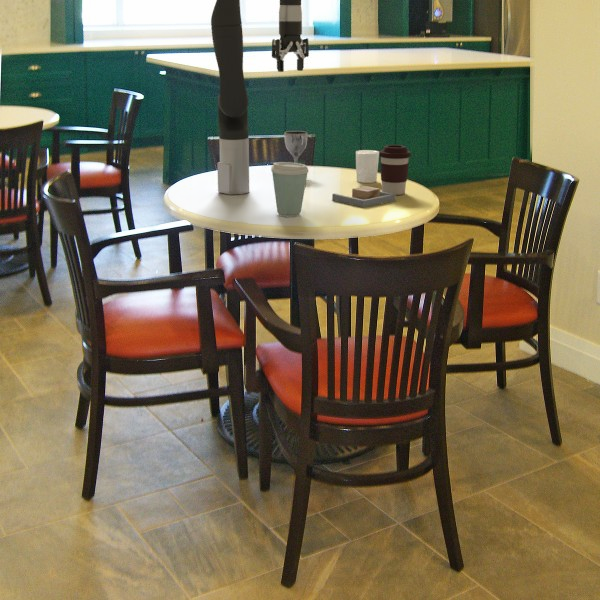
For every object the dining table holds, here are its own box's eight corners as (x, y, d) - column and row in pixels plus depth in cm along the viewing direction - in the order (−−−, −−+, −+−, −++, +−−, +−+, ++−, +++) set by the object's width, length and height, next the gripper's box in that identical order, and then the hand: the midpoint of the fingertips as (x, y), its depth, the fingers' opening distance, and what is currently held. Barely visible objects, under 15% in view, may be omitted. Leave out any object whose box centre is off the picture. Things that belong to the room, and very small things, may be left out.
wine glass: (307, 177, 309) (307, 133, 304) (284, 177, 309) (284, 133, 304) (307, 173, 316) (307, 130, 312) (284, 173, 316) (284, 130, 312)
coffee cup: (413, 191, 286) (415, 145, 281) (403, 197, 277) (405, 149, 272) (384, 189, 290) (385, 143, 285) (373, 194, 281) (374, 147, 276)
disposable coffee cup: (287, 209, 261) (287, 158, 257) (316, 214, 255) (316, 162, 250) (263, 215, 254) (263, 163, 249) (292, 221, 247) (292, 167, 242)
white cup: (376, 183, 298) (377, 154, 295) (353, 182, 300) (354, 153, 296) (379, 179, 306) (380, 150, 302) (356, 178, 307) (357, 149, 304)
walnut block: (367, 204, 269) (367, 191, 267) (352, 201, 273) (352, 188, 271) (379, 201, 273) (379, 188, 272) (364, 198, 277) (364, 186, 275)
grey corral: (363, 207, 264) (363, 200, 263) (332, 200, 273) (332, 193, 273) (395, 200, 273) (395, 194, 272) (364, 194, 282) (364, 187, 282)
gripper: (281, 20, 282) (281, 73, 287) (314, 19, 291) (313, 70, 296) (266, 20, 287) (266, 71, 293) (299, 19, 296) (299, 69, 302)
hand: (290, 71), depth 294 cm, fingers open, 8 cm apart
